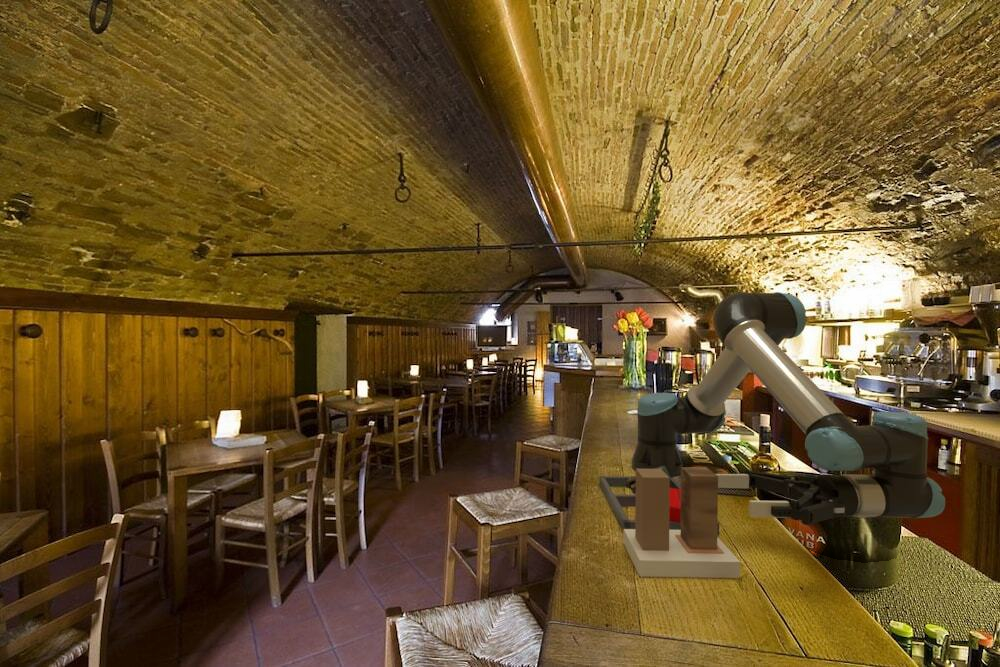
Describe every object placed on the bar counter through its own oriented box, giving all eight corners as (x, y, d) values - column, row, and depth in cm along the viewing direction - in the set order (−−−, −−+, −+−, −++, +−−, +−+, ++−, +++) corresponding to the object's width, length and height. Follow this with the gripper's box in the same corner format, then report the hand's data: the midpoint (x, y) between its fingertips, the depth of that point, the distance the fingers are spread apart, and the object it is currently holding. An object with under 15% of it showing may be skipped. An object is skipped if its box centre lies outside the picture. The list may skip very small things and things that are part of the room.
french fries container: (640, 532, 98) (639, 502, 111) (684, 539, 95) (677, 507, 108) (640, 503, 97) (639, 476, 110) (685, 508, 94) (678, 480, 108)
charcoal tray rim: (599, 484, 124) (599, 475, 124) (672, 485, 123) (672, 476, 123) (624, 533, 96) (624, 522, 95) (719, 534, 95) (719, 523, 95)
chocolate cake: (625, 498, 116) (660, 472, 112) (622, 481, 123) (655, 456, 119) (651, 520, 117) (686, 495, 113) (646, 502, 124) (680, 478, 119)
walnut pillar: (680, 536, 88) (681, 467, 87) (705, 536, 87) (706, 467, 87) (690, 549, 83) (691, 476, 82) (717, 549, 82) (718, 476, 82)
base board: (623, 543, 91) (623, 462, 91) (710, 544, 91) (711, 463, 90) (639, 576, 79) (640, 484, 79) (740, 578, 79) (741, 485, 78)
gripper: (902, 548, 71) (768, 546, 72) (803, 489, 96) (704, 488, 97) (903, 502, 71) (768, 500, 72) (803, 455, 95) (704, 454, 96)
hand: (731, 493), depth 84 cm, fingers open, 13 cm apart
